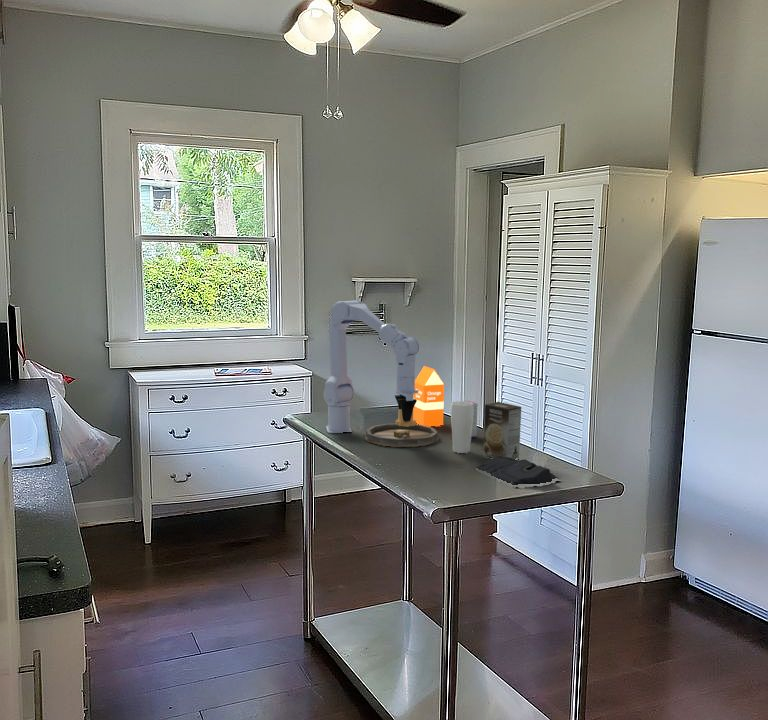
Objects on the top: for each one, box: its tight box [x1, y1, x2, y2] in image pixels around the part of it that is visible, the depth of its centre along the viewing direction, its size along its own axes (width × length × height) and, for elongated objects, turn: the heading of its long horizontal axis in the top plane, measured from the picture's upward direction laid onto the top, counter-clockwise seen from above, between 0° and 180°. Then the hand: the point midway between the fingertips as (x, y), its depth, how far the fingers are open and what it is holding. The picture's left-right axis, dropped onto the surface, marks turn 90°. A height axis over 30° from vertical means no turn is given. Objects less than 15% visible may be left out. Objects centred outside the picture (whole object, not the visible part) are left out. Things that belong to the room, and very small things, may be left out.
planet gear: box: [394, 409, 416, 427], centre depth 246 cm, size 6×6×4 cm
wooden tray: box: [363, 423, 440, 448], centre depth 253 cm, size 24×24×3 cm
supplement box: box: [465, 400, 478, 439], centre depth 255 cm, size 6×6×12 cm
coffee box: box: [482, 401, 522, 459], centre depth 228 cm, size 9×6×16 cm
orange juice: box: [413, 365, 445, 428], centre depth 273 cm, size 8×9×20 cm
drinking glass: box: [450, 400, 474, 454], centre depth 235 cm, size 7×7×15 cm
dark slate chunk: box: [475, 456, 559, 485], centre depth 212 cm, size 15×22×5 cm
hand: (405, 419), depth 246 cm, fingers closed on planet gear, 4 cm apart
